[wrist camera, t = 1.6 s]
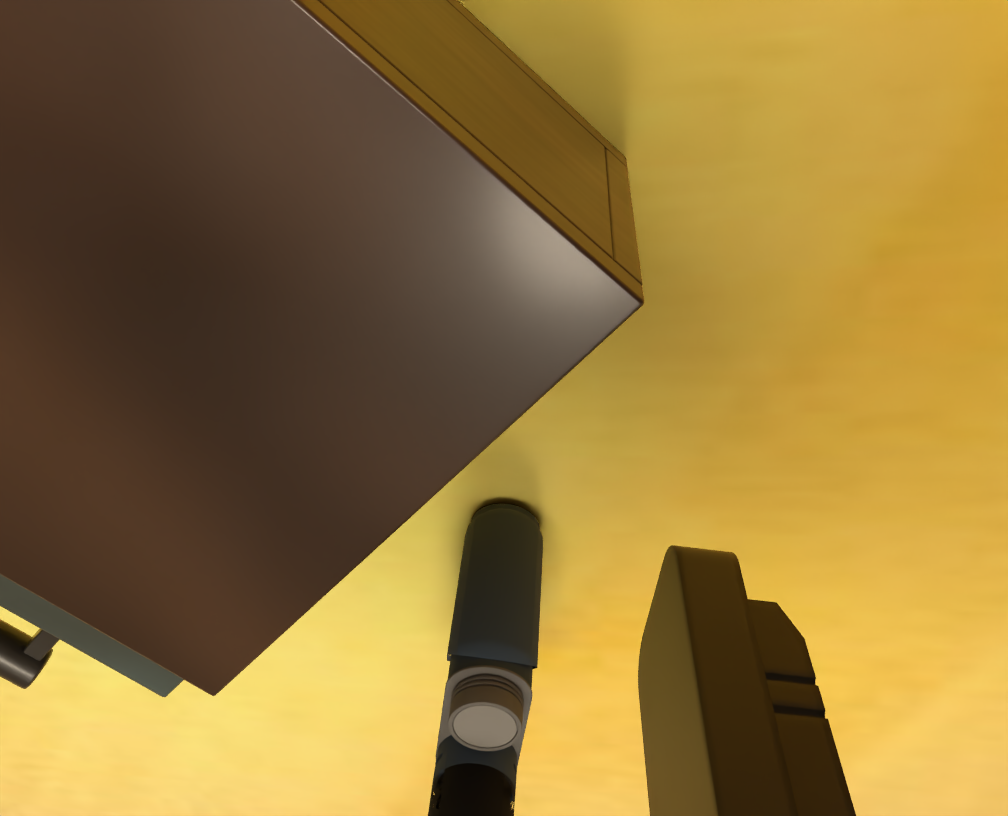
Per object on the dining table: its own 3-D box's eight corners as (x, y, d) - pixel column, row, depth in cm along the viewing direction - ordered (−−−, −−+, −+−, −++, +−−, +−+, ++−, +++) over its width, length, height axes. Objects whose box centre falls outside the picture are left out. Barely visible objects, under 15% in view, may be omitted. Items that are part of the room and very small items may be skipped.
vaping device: (455, 605, 34) (403, 941, 24) (471, 491, 31) (422, 819, 21) (526, 615, 34) (504, 955, 24) (549, 502, 32) (535, 835, 21)
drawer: (154, 625, 35) (70, 788, 29) (-150, 447, 31) (-314, 593, 25) (525, 243, 26) (510, 370, 20) (158, -69, 22) (12, -22, 16)
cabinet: (295, 495, 32) (213, 698, 25) (-55, 259, 28) (-274, 419, 21) (626, 158, 25) (646, 304, 18) (223, -217, 21) (41, -224, 14)
